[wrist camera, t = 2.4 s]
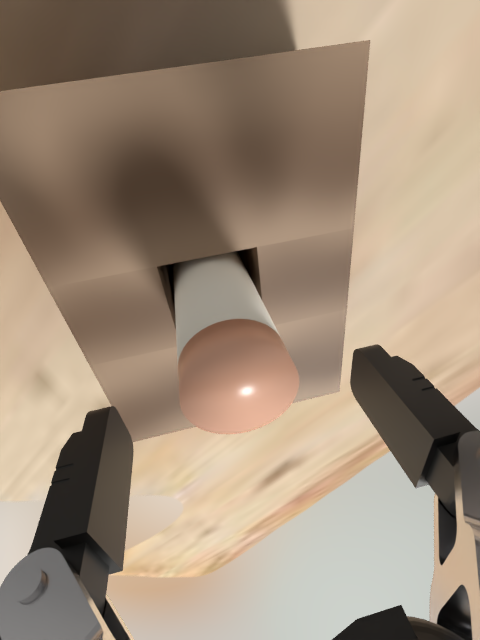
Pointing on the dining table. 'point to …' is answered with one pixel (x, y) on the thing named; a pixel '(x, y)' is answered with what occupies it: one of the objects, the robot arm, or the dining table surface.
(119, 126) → the socket block
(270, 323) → the plug
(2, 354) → the dining table surface
